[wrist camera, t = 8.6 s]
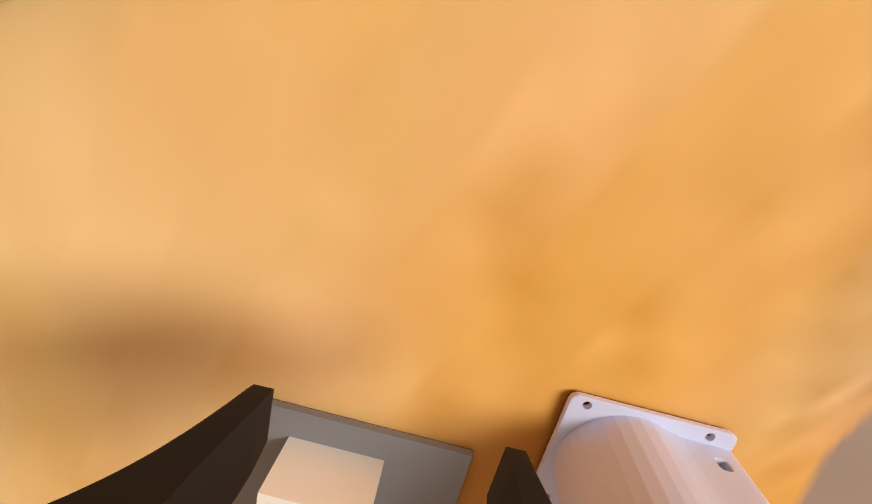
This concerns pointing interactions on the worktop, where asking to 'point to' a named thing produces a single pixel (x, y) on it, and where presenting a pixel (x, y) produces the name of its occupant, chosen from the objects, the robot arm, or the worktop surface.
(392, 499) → the mat
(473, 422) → the worktop surface
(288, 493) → the off-white block
